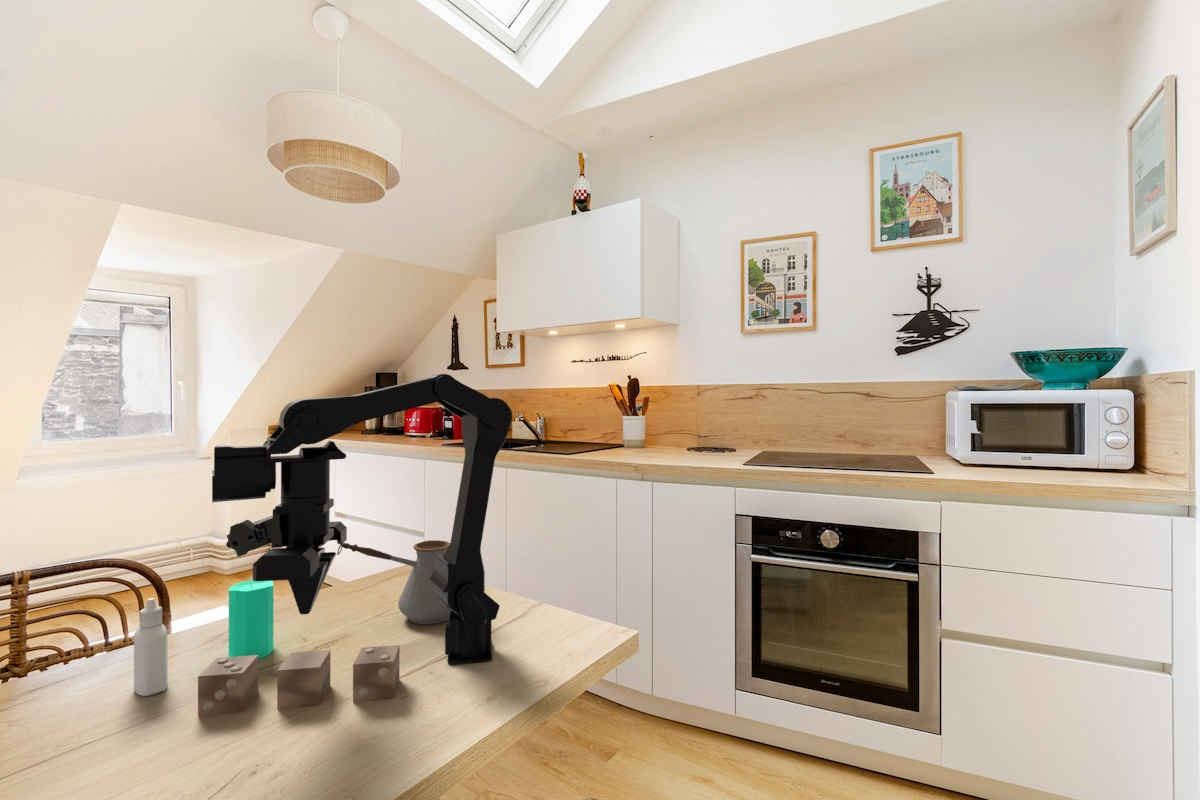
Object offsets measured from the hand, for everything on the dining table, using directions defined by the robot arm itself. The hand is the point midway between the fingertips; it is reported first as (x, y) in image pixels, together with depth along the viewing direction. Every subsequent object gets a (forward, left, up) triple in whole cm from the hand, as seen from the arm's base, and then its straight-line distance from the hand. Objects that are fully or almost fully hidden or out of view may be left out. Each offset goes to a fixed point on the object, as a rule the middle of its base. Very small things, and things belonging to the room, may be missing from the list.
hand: (305, 613), depth 75 cm
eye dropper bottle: (+21, -6, -11) cm, 25 cm away
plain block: (0, 0, -11) cm, 11 cm away
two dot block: (-9, 0, -11) cm, 14 cm away
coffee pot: (-9, -24, -11) cm, 28 cm away
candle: (+12, -15, -11) cm, 22 cm away
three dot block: (+9, 0, -11) cm, 14 cm away
